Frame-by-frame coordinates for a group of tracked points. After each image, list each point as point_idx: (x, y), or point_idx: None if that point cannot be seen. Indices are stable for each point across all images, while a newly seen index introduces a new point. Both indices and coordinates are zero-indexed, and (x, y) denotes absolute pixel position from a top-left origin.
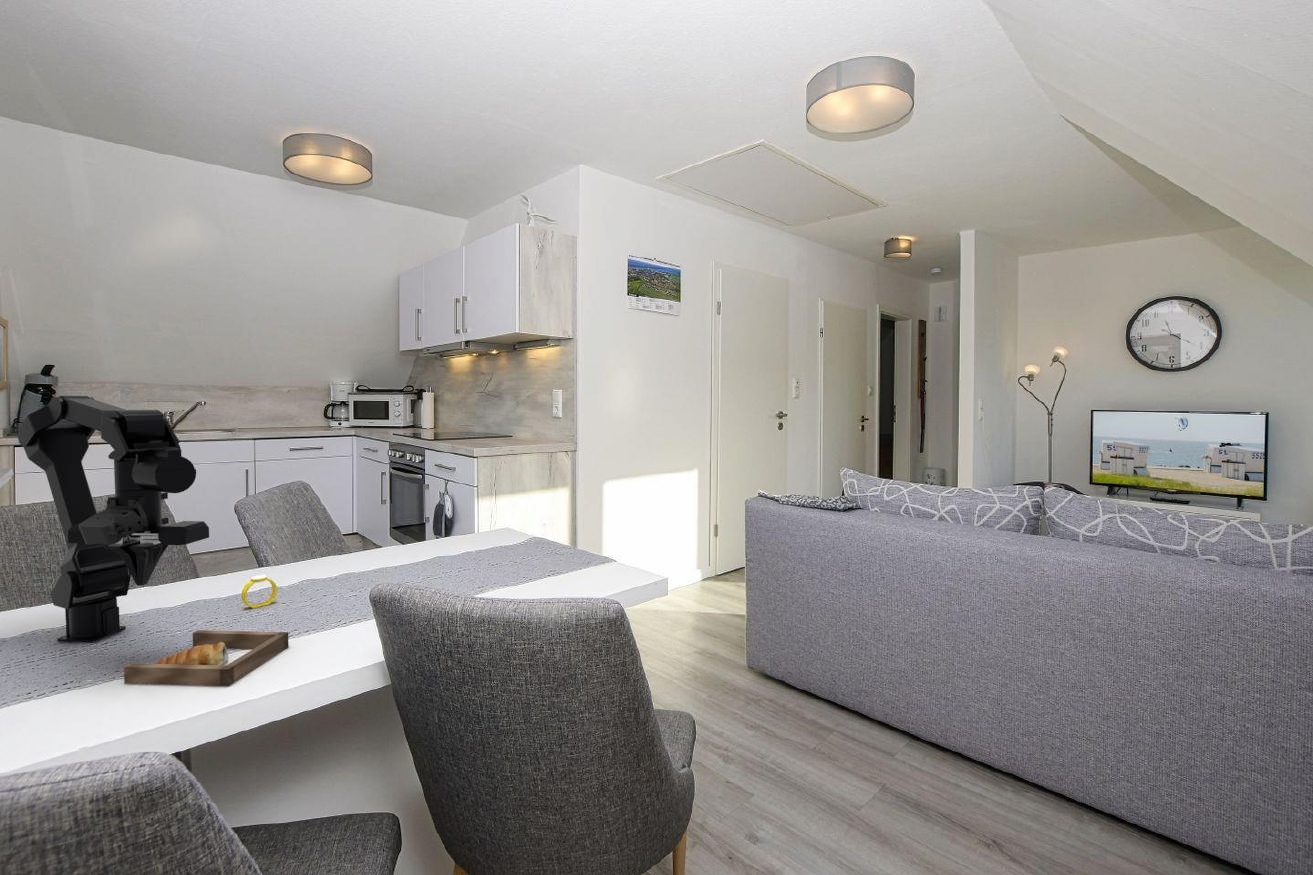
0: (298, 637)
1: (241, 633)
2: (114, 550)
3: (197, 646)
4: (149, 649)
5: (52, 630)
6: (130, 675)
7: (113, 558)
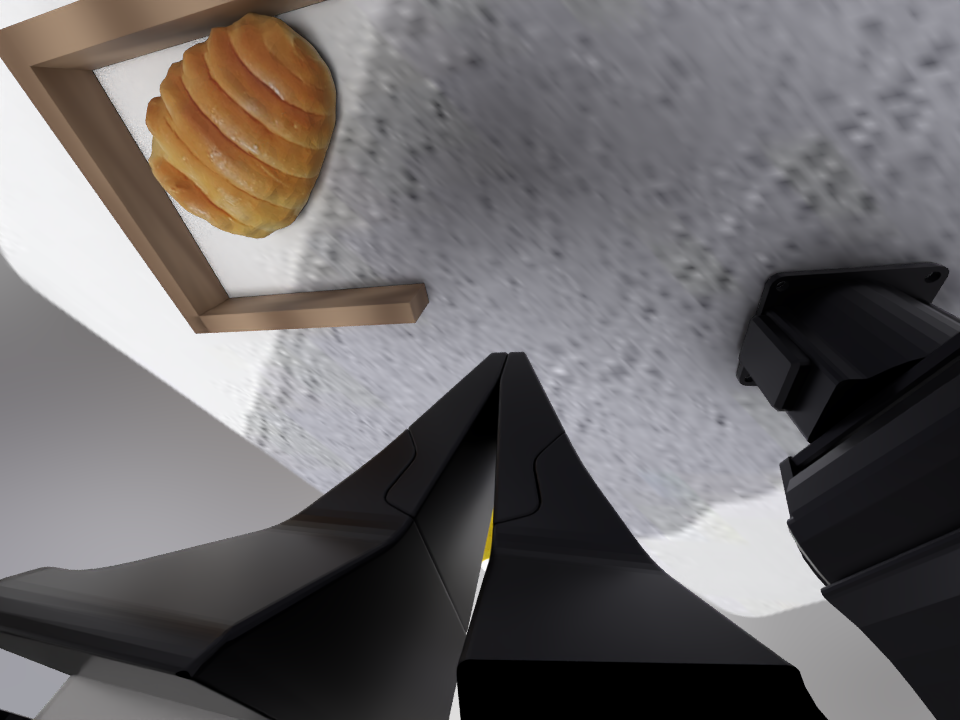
0: (265, 363)
1: (282, 314)
2: (697, 630)
3: (216, 162)
4: (534, 255)
5: None
6: None
7: (953, 636)
